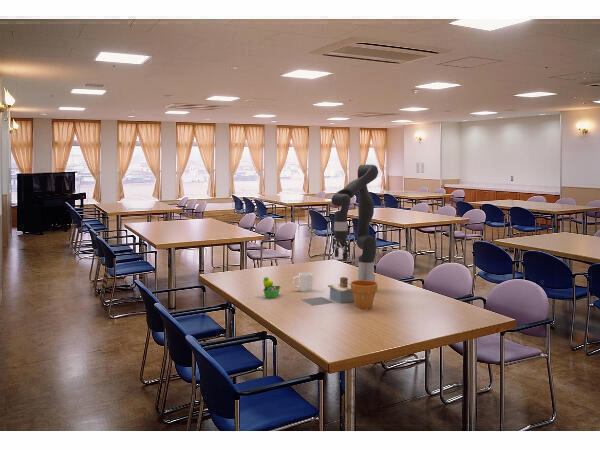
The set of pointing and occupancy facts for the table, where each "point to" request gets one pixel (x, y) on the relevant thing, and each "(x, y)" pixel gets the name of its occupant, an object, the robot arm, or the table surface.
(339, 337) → the table surface
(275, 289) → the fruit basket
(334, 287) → the lid
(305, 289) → the cup
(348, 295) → the blue gray open box
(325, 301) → the mat
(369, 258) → the robot arm
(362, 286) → the flower pot
